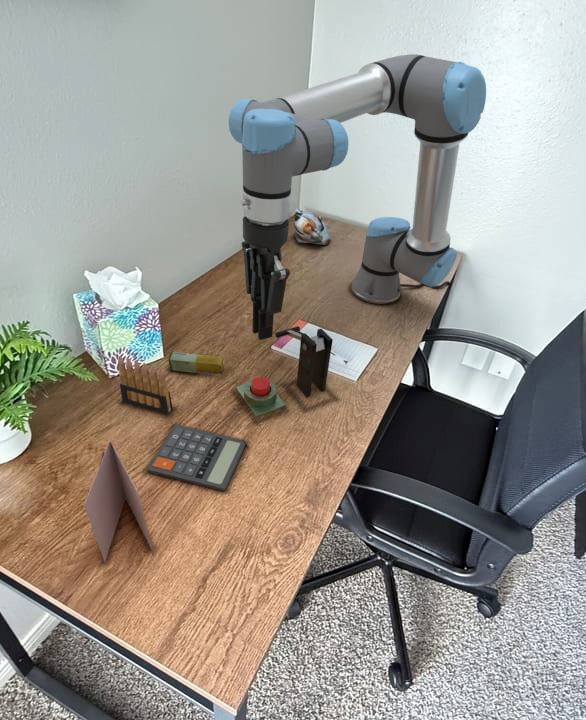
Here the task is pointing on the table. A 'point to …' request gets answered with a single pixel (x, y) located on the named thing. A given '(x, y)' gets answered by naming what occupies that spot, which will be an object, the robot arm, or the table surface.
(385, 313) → the table surface
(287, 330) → the lever
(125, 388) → the ammunition clip
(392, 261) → the robot arm
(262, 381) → the button
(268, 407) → the button block
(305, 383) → the bracket
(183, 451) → the calculator
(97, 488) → the greeting card
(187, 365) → the medication box
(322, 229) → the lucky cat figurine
